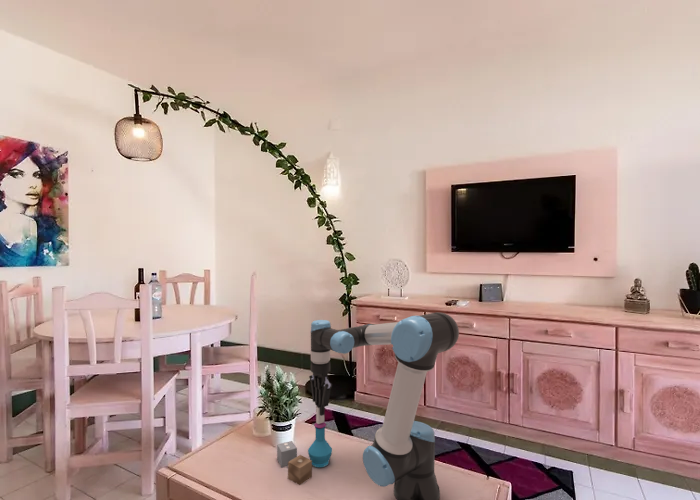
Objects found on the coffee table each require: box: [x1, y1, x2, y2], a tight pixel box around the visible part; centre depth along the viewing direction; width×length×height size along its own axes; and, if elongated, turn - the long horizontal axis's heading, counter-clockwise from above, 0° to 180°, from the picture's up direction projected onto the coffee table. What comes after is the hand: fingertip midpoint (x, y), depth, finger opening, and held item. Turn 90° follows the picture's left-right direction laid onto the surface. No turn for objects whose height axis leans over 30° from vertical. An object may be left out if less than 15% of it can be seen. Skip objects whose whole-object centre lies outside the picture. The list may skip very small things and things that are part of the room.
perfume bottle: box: [307, 421, 333, 468], centre depth 144 cm, size 9×9×15 cm
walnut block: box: [287, 454, 313, 486], centre depth 135 cm, size 6×6×6 cm
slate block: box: [276, 440, 298, 468], centre depth 145 cm, size 6×6×6 cm
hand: (320, 422), depth 144 cm, fingers closed
